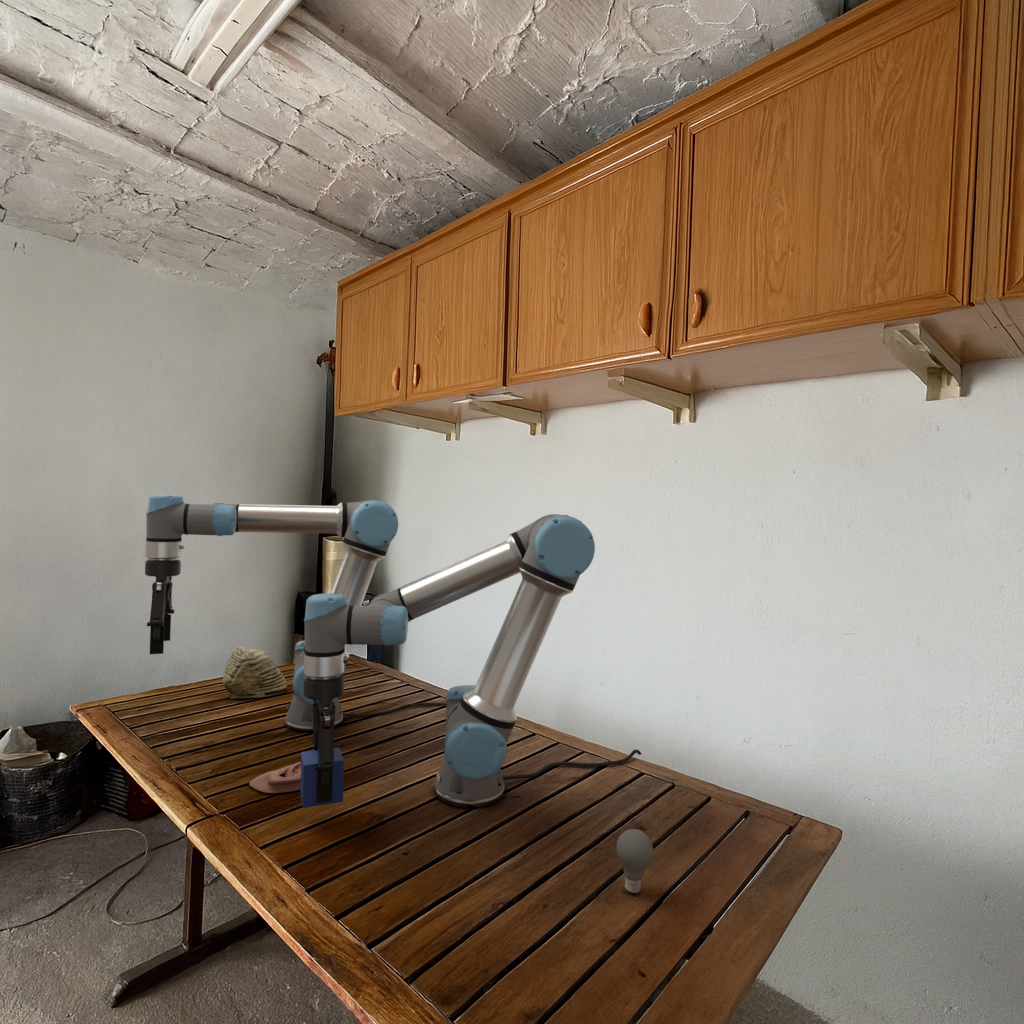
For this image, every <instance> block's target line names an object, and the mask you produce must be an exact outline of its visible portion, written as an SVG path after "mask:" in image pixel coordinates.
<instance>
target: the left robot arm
mask: <svg viewBox="0 0 1024 1024" xmlns="http://www.w3.org/2000/svg"><path fill="white" fill-rule="evenodd" d="M145 515H146V531H145V532H146V533H145V534H146V535H145V536H146V538H145V547H144V548H145V549H144V557H145V558H146V560H145V561H144V574H145V576H147V577H155V581H154V582H153V583H152V584H151V591H152V592H151V605H150V615H149V621H148V622H146V627H150V630H149V631H150V632H149V633H150V634H149V655H163V654H164V646H165V642H170V641H171V627H172V614H173V615H174V614H175V608H174V609H173V602H172V600H173V598H172V596H173V595H172V593H173V581H172V580H173V577H177V576H179V575H180V574H181V571H182V569H181V567H182V561H181V559H179V558H181V556H182V550H184V549H185V546H184V545H183V544H182V539H183V538H182V537H183V535H187V536H188V535H191V536H193V535H194V536H195V535H196V536H217V537H224V536H233V535H234V534H235V533H270V534H271V533H280V534H281V533H282V534H289V533H290V534H336V535H337V536H338V537H339V538H343V540H342V542H341V543H342V545H343V548H344V550H345V551H344V554H343V558H342V560H341V562H340V566H339V567H338V571H337V573H336V576H335V579H334V581H333V584H332V587H331V589H330V593H329V594H341V595H343V596H345V598H346V603H347V605H354V606H363V602H364V600H365V597H366V594H367V591H368V588H369V585H370V584H371V580H372V577H373V576H374V575H373V574H374V572H375V569H376V566H377V563H378V562H379V561H381V560H383V559H385V558H386V556H387V553H388V550H389V547H390V545H391V543H392V541H393V540H394V539H395V537H396V535H397V534H398V530H399V517H398V515H397V513H396V511H395V510H394V508H393V507H392V506H391V505H389V504H388V503H387V502H385V501H383V500H378V499H367V500H362V501H356V502H355V501H354V502H353V501H352V502H340V503H338V504H337V505H303V504H301V505H300V504H299V505H298V504H297V505H296V504H258V503H257V504H256V503H255V504H251V503H250V504H249V503H246V504H245V503H223V502H215V503H212V504H210V503H209V504H208V503H207V504H204V503H203V504H202V503H201V504H200V503H197V504H195V503H186V502H185V501H184V498H183V496H182V495H179V494H151V495H150V496H149V497H148V499H147V508H146V513H145ZM347 646H348V644H345V652H344V656H347V661H343V663H344V671H345V669H346V667H347V663H348V661H349V659H350V654H349V652H348V651H347ZM294 649H295V650H293V651H294V669H293V676H292V680H291V682H292V683H291V685H292V686H291V687H292V690H293V695H292V696H293V697H292V699H291V702H289V703H286V704H285V710H287V709H288V711H287V713H286V715H285V726H286V728H287V729H289V730H291V731H294V732H295V731H296V732H301V733H313V711H312V704H313V703H314V701H313V700H312V699H308V698H306V697H305V696H304V678H305V676H306V675H305V674H304V651H305V639H304V640H300V641H298V642H296V643H295V648H294ZM342 674H343V675H344V672H343V673H342ZM331 702H333V703H334V706H335V715H334V716H335V720H334V729H335V728H337V727H339V726H340V725H342V723H343V722H344V717H356V718H361V717H362V718H363V717H372V716H380V715H386V714H389V713H394V712H396V711H400V710H402V709H404V708H410V707H416V706H417V707H419V706H443V707H444V706H445V707H446V705H447V702H416V703H408V704H404V705H400V706H397V707H395V708H392V709H388V710H383V711H377V712H369V713H347V712H346V713H344V712H343V709H342V706H341V702H340V699H339V697H337V698H334V699H332V700H331Z"/></svg>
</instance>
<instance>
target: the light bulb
mask: <svg viewBox="0 0 1024 1024" xmlns="http://www.w3.org/2000/svg"><path fill="white" fill-rule="evenodd" d="M615 849H616V854H617V857H618V859H619V861H620V863H621V865H622V867H623V873H624V874H623V875H624V876H625V878H624V888H625V890H627V891H628V892H630V893H634V894H635V893H639V892H640V891H641V889H642V887H641V886H642V879H643V877H644V875H645V871H646V868H647V867H648V866H649V864H650V863H651V861H652V859H653V855H654V847H653V843H652V841H651V838H649V836H648V835H647V834H646V833H645V832H643V831H642V830H641V829H636V828H629V829H627V830H625V831H623V832H622V833H621V834H620V835H619V837H618V839H617V841H616V847H615Z"/></svg>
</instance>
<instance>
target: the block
mask: <svg viewBox="0 0 1024 1024" xmlns="http://www.w3.org/2000/svg"><path fill="white" fill-rule="evenodd" d="M344 759H345V758H344V757H343V754H342V751H341V748H340V747H334V768H332V801H328V802H321V803H317V770H314V767H316V766H318V750H315V751H314V750H308V751H301V752H300V762H301V784H300V793H299V794H300V798H301V805H302V809H306V808H311V807H318V806H319V807H320V806H325V805H332V804H337V803H343V802H344V779H345V778H344V777H345V771H344V770H345V760H344Z"/></svg>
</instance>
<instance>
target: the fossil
mask: <svg viewBox="0 0 1024 1024" xmlns="http://www.w3.org/2000/svg"><path fill="white" fill-rule="evenodd" d="M222 676H223V677H222V685H223V687H224V688H225V690H226V691H228V693H229V698H230V699H250V698H264V697H271V696H275V695H281V694H284V693H285V691H286V689H287V687H288V686H287V680H286V678H285V676H284V674H283V673H282V672H281V669H279V668H278V667H277V665H276V663H275V662H274V660H273V659H272V658H271V657H270V656H269V655H268V654H267V653H266V652H265V650H264V649H263V648H260V647H258V648H251V647H247V646H246V647H245V646H238V647H237V648H236V649H235V650H233V651H232V653H231V656H230V657H229V659H228V660H227V663H226V666H225V668H224V671H223V675H222Z"/></svg>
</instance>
